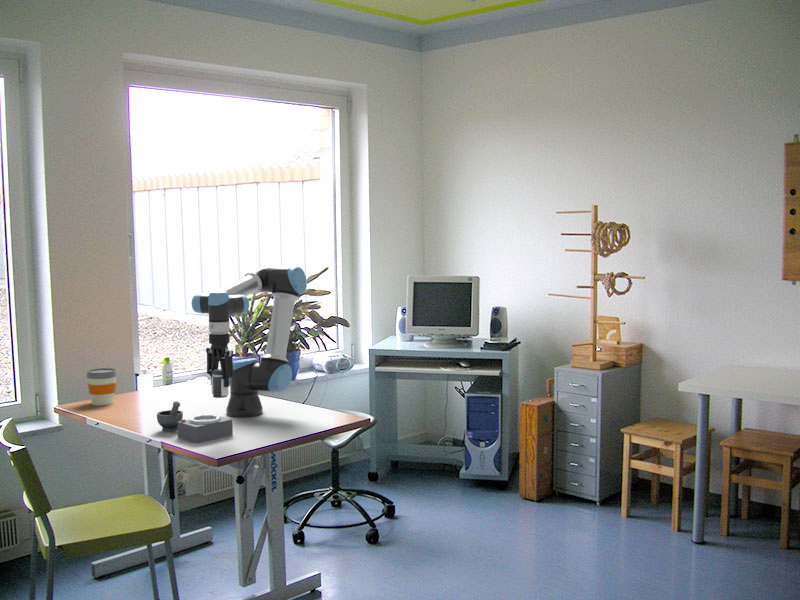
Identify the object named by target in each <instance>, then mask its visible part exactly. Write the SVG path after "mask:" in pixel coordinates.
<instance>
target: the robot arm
mask: <svg viewBox="0 0 800 600" xmlns="http://www.w3.org/2000/svg"><path fill="white" fill-rule="evenodd" d="M307 282H308V281H307V276H306V273H305V271H304V270H303V268H301V267H300V266H294V265H267V266H265V265H264V266H263V267H260V268H256V269H254V270H252V271H249V272H247V273H245V274H244V276H243V277H242V278H239V279H237V280H235V281H232V282H231V283H230V282H229V283H228V284H225V285H224V286H221V287H219V288H217V289H215V290H212V291H210V292H208V293H197V294H194V296H193V297H192V298H191V307H192V308H191V309H192V310H193V311H194V312H195V313H197V314H198V313H199V314H203V315H204V314H207V315H208V332H209V334H208V344H209V345H211V346H210V347H207V348H205V352H206V373H207V375H209V376H210V383H211V384H210V385H211V395H213V376H212V374H213V370H215V369H219V365H220V369H221V371H222V376H223V377H222V378H221V396H226V395H227V396H229V399H228V404H227V407H226V410H225V411H226V413H225V414H226V416H229V417H234V418H235V417H236V418H249V417H256V416H260V415H262V414H263V412H264V411H263V405H262V402H261V399H260V396H259V391H261V392H271V393H282V392H284V391H286V390H287V389H288V388H289V387H290V384H291V382H292V378H293V372H292V371H293V369H292V367H291V365H289V362H290V361H289V360H288V359H287V351H288V344H289V340H290V339H289V338H290V333H291V327H292V321H293V315H294V310H295V309H294V308H295V303H296V302H297V301H298V300H299V298H300V295H302V294H304V293H305V291H306V290H307V286H308V283H307ZM259 293H271V296H272V297H273V299H274V300H273V307H272V313H271V318H270V324H269V330H268V337H267V342H266V348H265V354H264V355H262V356H261V357H260V361H259V359H258V358H255V357H253V358H245V359H244V358H243V359H238V360H234V361H233V359H234V358H233V356H234V351H233V350H230V349H229V346H228V344H229V343H230V338H231V337H230V334H229V332H230V331H231V330H230V329H231V328H230V325H231V324H230V316H236V315H238V316H240V315H243V314H245V313H247V312H248V311H249V309H250V300H249V299H248V297H247V296H249V295H257V294H259ZM225 374H226V375H225ZM229 390H230V391H229ZM229 392H230V393H229Z"/></svg>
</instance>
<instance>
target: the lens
mask: <svg viewBox="0 0 800 600" xmlns="http://www.w3.org/2000/svg"><path fill="white" fill-rule="evenodd" d="M225 375H226V374H225ZM212 376H213V394H212V398H214V399H215V398H216V399H222V398H227V397H228V395H226V396H221V378H222V377H223V376H222V371H221V368H218V369H215V370H213V374H212Z"/></svg>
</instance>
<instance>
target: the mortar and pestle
mask: <svg viewBox="0 0 800 600" xmlns="http://www.w3.org/2000/svg"><path fill="white" fill-rule="evenodd" d="M180 406H181V403H180V402H179V401H178V400H177V401H173V402H172V407H171V409H169V410H168V409H167V410H161V411H158V412H157V413H156V420H157V423H158V424H159V426H160V427H161V431H162V432H163V433H174V432H175V433H176V432H178V422H179V421H181V419H184V417H183V416H184V413H183V411H182V410H179V407H180Z"/></svg>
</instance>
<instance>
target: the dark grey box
mask: <svg viewBox="0 0 800 600" xmlns="http://www.w3.org/2000/svg"><path fill="white" fill-rule="evenodd" d="M233 426H234V425H233V419H231V418H229V417H225V416H221V415H217V414H198V415H195V416H194V415H193V416H191V417H190V418H188V419H186V418H182V419H181V421H179V422H178V431H177V438H178V439H181V440H184V441H187V442H190V443H193V444H199V443H203V442H207V441H213V440H216V439H222V438H226V437H230V436H233V435H234V433H233V431H234V430H233V428H234V427H233Z"/></svg>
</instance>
